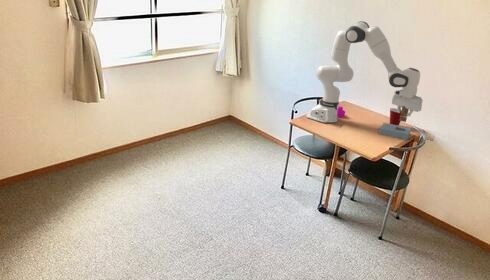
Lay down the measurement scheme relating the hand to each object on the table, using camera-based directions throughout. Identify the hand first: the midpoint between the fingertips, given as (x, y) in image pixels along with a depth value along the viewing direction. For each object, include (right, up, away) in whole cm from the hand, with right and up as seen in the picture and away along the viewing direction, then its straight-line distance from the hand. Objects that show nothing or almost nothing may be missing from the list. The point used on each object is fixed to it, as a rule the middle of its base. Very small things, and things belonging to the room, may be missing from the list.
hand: (404, 114), depth 253 cm
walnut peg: (0, -4, +1) cm, 4 cm away
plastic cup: (+2, -7, +24) cm, 25 cm away
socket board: (-4, -12, +7) cm, 15 cm away
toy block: (-35, +3, +41) cm, 54 cm away
